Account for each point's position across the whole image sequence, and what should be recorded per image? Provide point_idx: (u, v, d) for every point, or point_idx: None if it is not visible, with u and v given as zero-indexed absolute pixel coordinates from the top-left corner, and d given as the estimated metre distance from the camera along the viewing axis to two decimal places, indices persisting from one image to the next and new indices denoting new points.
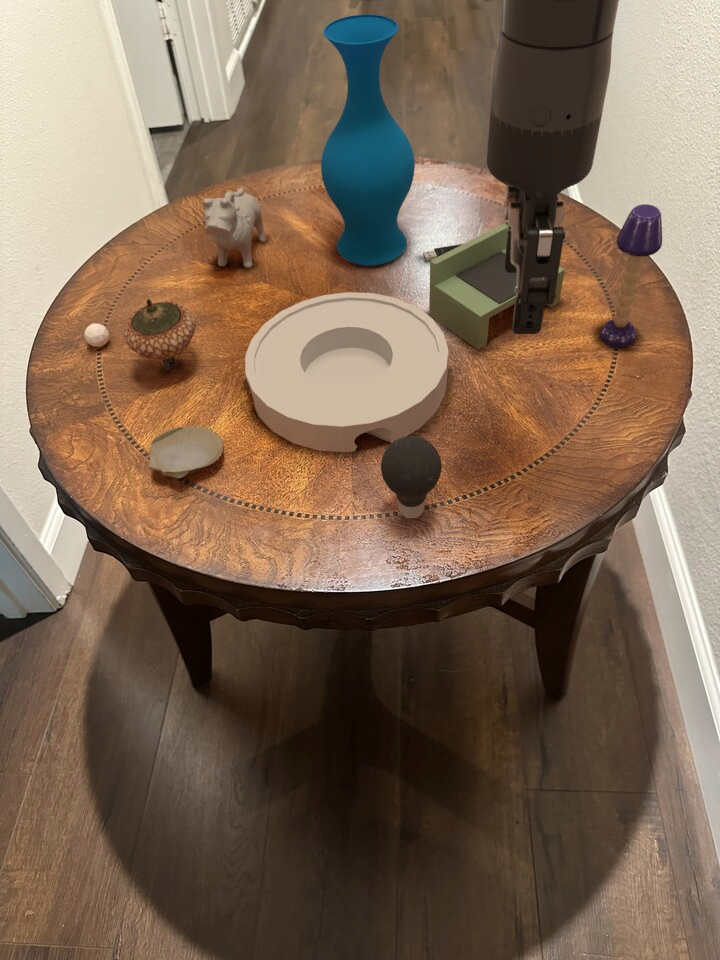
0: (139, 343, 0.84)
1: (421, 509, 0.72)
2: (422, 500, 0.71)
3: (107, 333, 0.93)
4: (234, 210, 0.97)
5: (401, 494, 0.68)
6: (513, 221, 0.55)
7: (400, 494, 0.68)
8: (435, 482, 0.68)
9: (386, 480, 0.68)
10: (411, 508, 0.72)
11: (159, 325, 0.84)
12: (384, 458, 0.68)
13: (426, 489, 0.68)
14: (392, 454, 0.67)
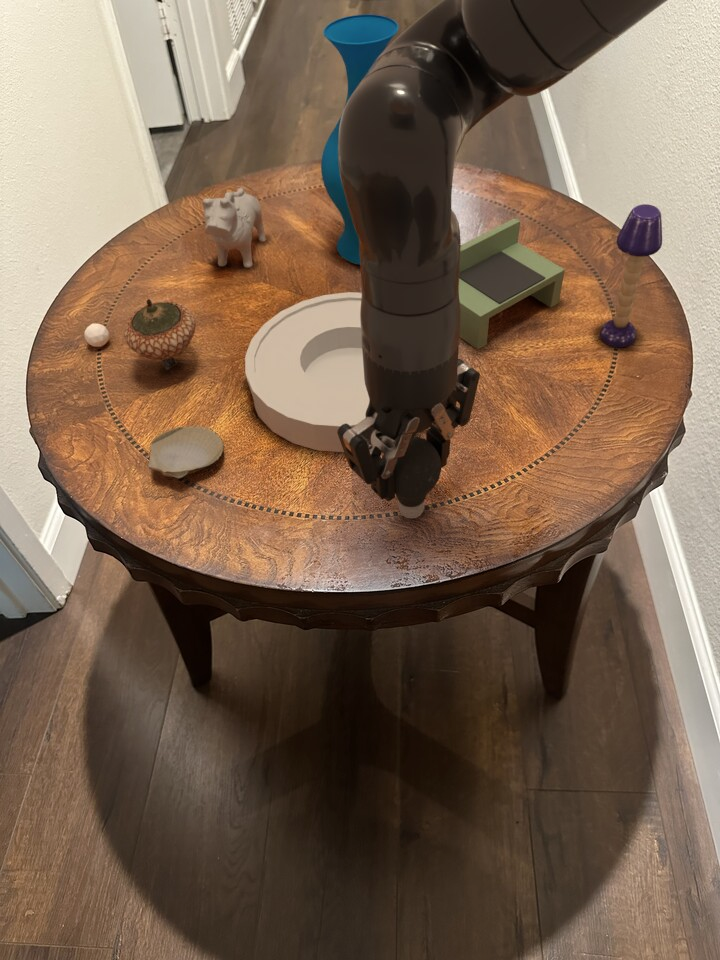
0: (139, 343, 0.84)
1: (421, 509, 0.72)
2: (422, 500, 0.71)
3: (107, 332, 0.93)
4: (234, 210, 0.97)
5: (401, 494, 0.68)
6: None
7: (400, 494, 0.68)
8: (435, 482, 0.68)
9: None
10: (411, 508, 0.72)
11: (159, 325, 0.84)
12: (384, 458, 0.68)
13: (426, 489, 0.68)
14: None
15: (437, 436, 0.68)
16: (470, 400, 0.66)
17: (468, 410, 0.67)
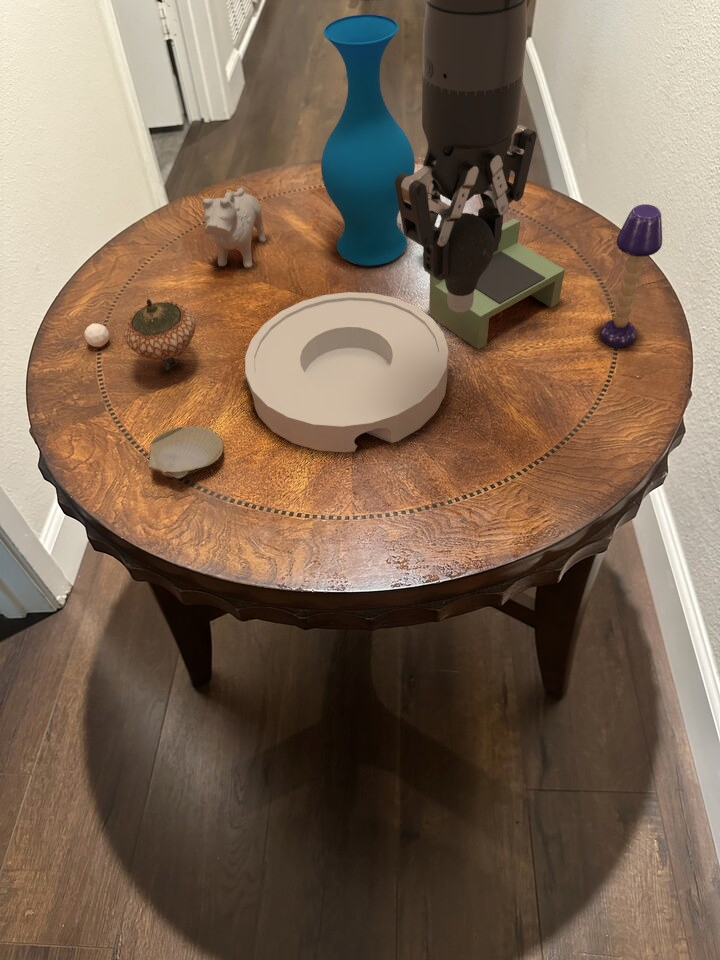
0: (139, 343, 0.84)
1: (471, 301, 0.71)
2: (473, 287, 0.69)
3: (107, 332, 0.93)
4: (234, 210, 0.97)
5: (454, 272, 0.66)
6: None
7: (453, 273, 0.67)
8: (489, 259, 0.66)
9: None
10: (461, 298, 0.70)
11: (159, 325, 0.84)
12: None
13: (479, 265, 0.66)
14: None
15: (490, 212, 0.66)
16: (525, 168, 0.64)
17: (523, 180, 0.65)
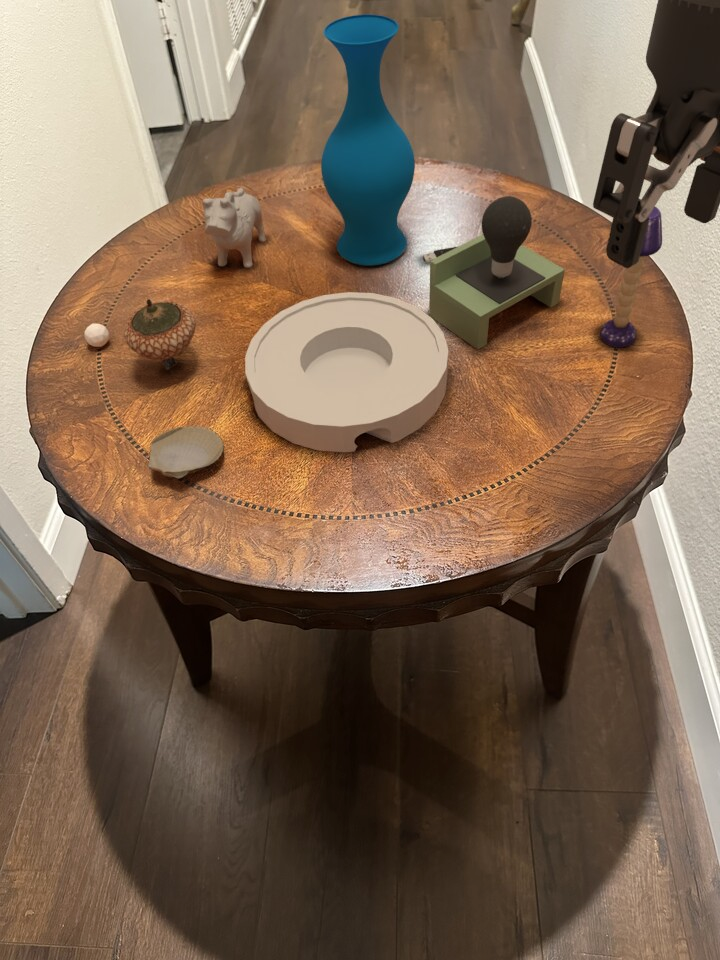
0: (139, 343, 0.84)
1: (510, 268, 0.89)
2: (513, 256, 0.87)
3: (107, 333, 0.93)
4: (234, 210, 0.97)
5: (499, 243, 0.84)
6: None
7: (498, 244, 0.84)
8: (527, 233, 0.84)
9: (487, 231, 0.84)
10: (503, 265, 0.88)
11: (159, 325, 0.84)
12: (486, 213, 0.84)
13: (520, 237, 0.84)
14: (493, 208, 0.83)
15: (716, 169, 0.52)
16: None
17: None
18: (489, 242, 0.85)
